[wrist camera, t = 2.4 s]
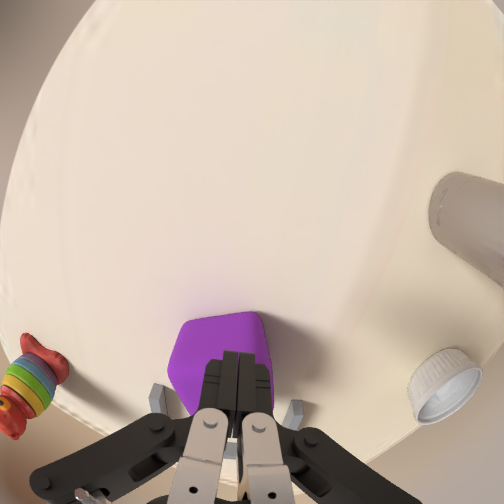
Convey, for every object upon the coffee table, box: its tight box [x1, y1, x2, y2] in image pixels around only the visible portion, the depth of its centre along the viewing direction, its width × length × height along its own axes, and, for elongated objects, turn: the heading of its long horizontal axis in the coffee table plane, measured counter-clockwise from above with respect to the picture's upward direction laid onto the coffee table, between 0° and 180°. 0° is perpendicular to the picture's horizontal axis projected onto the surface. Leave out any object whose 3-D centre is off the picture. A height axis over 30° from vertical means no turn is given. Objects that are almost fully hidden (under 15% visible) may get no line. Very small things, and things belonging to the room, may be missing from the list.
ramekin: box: [408, 348, 483, 425], centre depth 33 cm, size 13×13×7 cm
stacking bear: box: [0, 333, 69, 440], centre depth 28 cm, size 11×10×18 cm
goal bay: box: [149, 384, 304, 459], centre depth 38 cm, size 22×16×3 cm
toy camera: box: [167, 312, 274, 416], centre depth 29 cm, size 11×14×10 cm
